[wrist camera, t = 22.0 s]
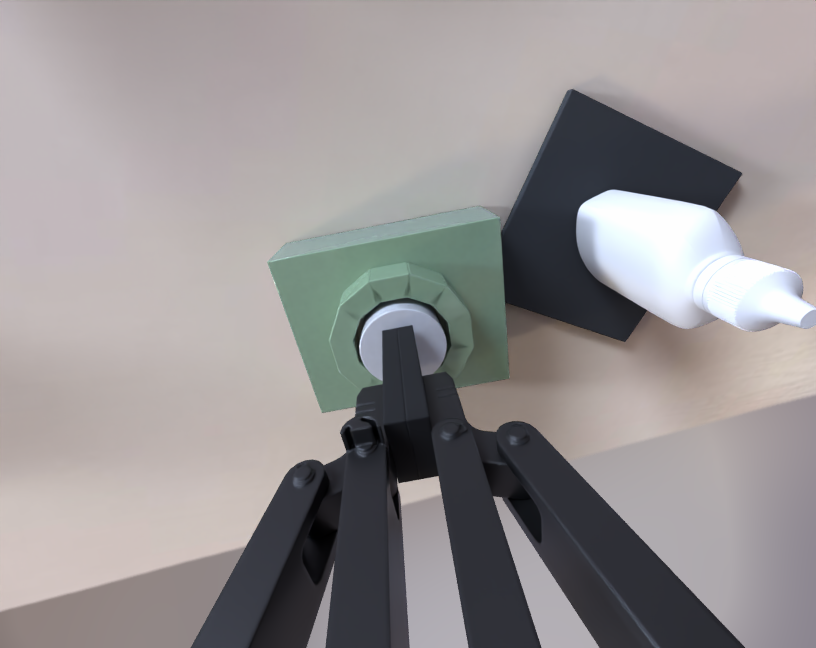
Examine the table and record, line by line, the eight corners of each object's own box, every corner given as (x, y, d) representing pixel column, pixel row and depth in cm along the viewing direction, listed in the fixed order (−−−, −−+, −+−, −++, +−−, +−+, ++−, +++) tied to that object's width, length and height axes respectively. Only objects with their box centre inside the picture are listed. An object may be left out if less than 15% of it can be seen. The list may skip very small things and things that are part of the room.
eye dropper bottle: (651, 190, 21) (930, 233, 10) (622, 280, 24) (824, 390, 13) (581, 187, 21) (794, 228, 10) (559, 279, 23) (711, 391, 13)
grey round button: (435, 286, 19) (440, 301, 17) (445, 356, 21) (451, 377, 19) (352, 302, 19) (349, 318, 17) (371, 370, 21) (370, 392, 19)
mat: (734, 172, 22) (743, 173, 21) (620, 338, 26) (625, 342, 26) (567, 90, 19) (572, 88, 19) (474, 289, 24) (476, 293, 23)
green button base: (480, 205, 22) (513, 224, 16) (492, 347, 26) (520, 398, 21) (285, 243, 22) (254, 274, 16) (329, 377, 26) (316, 436, 21)
